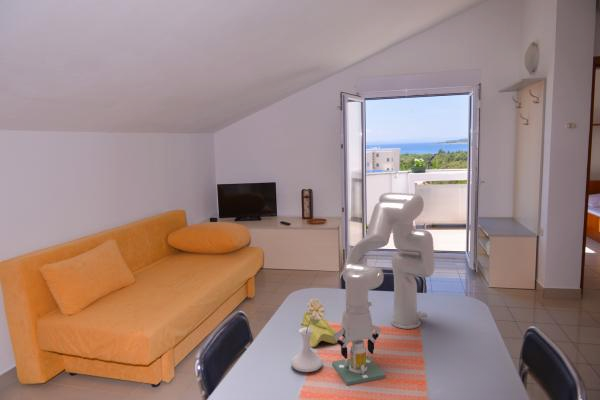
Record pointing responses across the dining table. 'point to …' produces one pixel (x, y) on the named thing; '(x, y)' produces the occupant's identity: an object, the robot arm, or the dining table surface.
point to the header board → (358, 376)
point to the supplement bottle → (358, 355)
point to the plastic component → (319, 330)
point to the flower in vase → (307, 357)
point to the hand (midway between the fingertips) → (357, 354)
